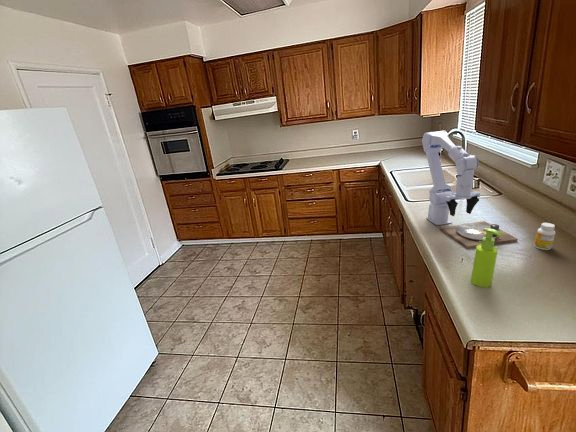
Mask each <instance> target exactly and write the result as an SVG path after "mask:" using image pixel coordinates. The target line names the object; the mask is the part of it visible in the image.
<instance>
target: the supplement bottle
mask: <svg viewBox="0 0 576 432" xmlns="http://www.w3.org/2000/svg"><path fill="white" fill-rule="evenodd" d="M540 224H541V225H540V227H538V229H537V232H536V235H535V239H534V244H533V245H534V248H537V249H539V250H544V251H549V250H551V249H552V247H553V244H554V239H555V236H556V230H555V228H556V227H555V225H556V224H553V223H550V222H542V223H540Z"/></svg>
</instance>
